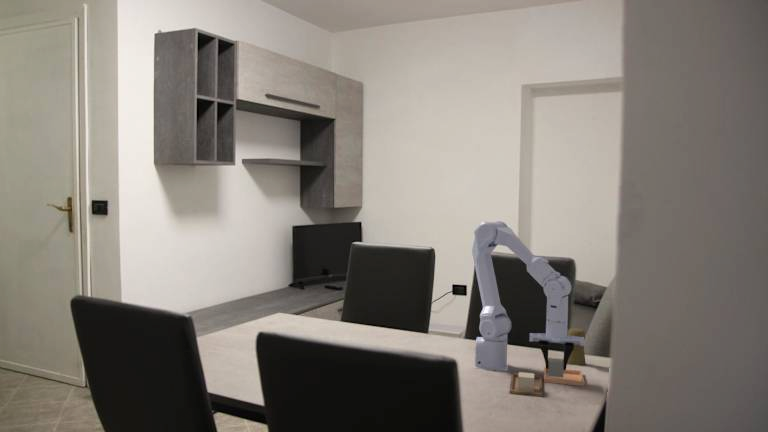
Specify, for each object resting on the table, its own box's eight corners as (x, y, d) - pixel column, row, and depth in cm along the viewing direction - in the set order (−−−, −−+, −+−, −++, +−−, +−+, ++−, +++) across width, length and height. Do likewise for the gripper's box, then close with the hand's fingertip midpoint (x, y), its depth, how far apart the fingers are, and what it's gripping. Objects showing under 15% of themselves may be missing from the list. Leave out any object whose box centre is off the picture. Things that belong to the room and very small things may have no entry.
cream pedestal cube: (517, 391, 146) (518, 376, 146) (518, 386, 150) (518, 372, 150) (533, 393, 145) (534, 378, 145) (533, 388, 149) (534, 373, 148)
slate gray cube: (547, 371, 159) (548, 357, 159) (562, 373, 158) (562, 359, 158) (548, 375, 155) (548, 361, 155) (563, 377, 154) (563, 363, 154)
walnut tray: (509, 395, 144) (509, 390, 144) (511, 377, 159) (511, 373, 159) (542, 398, 142) (542, 394, 142) (541, 380, 157) (541, 375, 157)
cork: (587, 367, 170) (588, 331, 169) (566, 366, 171) (567, 330, 171) (584, 361, 176) (585, 327, 175) (564, 360, 177) (565, 326, 177)
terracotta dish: (543, 383, 154) (544, 378, 154) (543, 372, 164) (543, 367, 164) (584, 387, 151) (584, 382, 151) (581, 375, 162) (581, 370, 161)
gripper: (530, 321, 154) (528, 370, 154) (585, 325, 150) (584, 375, 150) (530, 316, 161) (529, 362, 161) (583, 319, 157) (582, 367, 157)
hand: (555, 368), depth 156 cm, fingers closed on slate gray cube, 4 cm apart
